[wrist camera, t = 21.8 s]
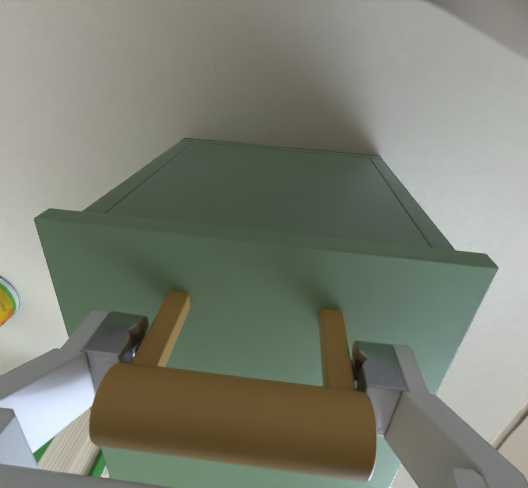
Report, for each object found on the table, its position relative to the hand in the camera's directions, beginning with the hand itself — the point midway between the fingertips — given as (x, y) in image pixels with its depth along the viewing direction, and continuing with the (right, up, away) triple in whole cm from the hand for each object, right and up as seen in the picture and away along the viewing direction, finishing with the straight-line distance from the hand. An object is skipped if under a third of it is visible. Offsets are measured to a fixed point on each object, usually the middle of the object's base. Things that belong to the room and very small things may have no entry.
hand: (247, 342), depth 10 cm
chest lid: (0, -4, +5) cm, 7 cm away
